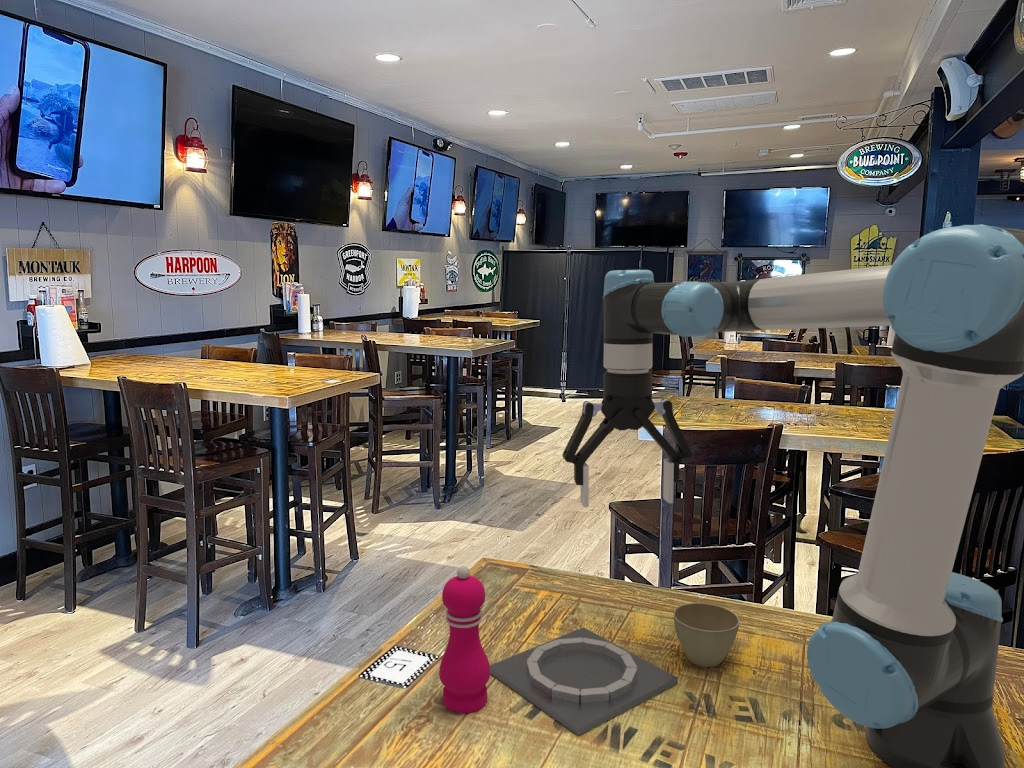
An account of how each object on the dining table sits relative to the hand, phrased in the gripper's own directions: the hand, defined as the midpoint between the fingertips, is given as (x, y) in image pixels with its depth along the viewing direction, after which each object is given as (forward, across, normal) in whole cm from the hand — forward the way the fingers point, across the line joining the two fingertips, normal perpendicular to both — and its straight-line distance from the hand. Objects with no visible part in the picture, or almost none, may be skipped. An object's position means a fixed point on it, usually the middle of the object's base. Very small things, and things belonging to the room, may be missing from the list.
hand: (626, 502), depth 117 cm
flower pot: (+24, -11, +6) cm, 27 cm away
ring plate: (+24, +9, +9) cm, 27 cm away
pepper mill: (+24, +27, +13) cm, 38 cm away
